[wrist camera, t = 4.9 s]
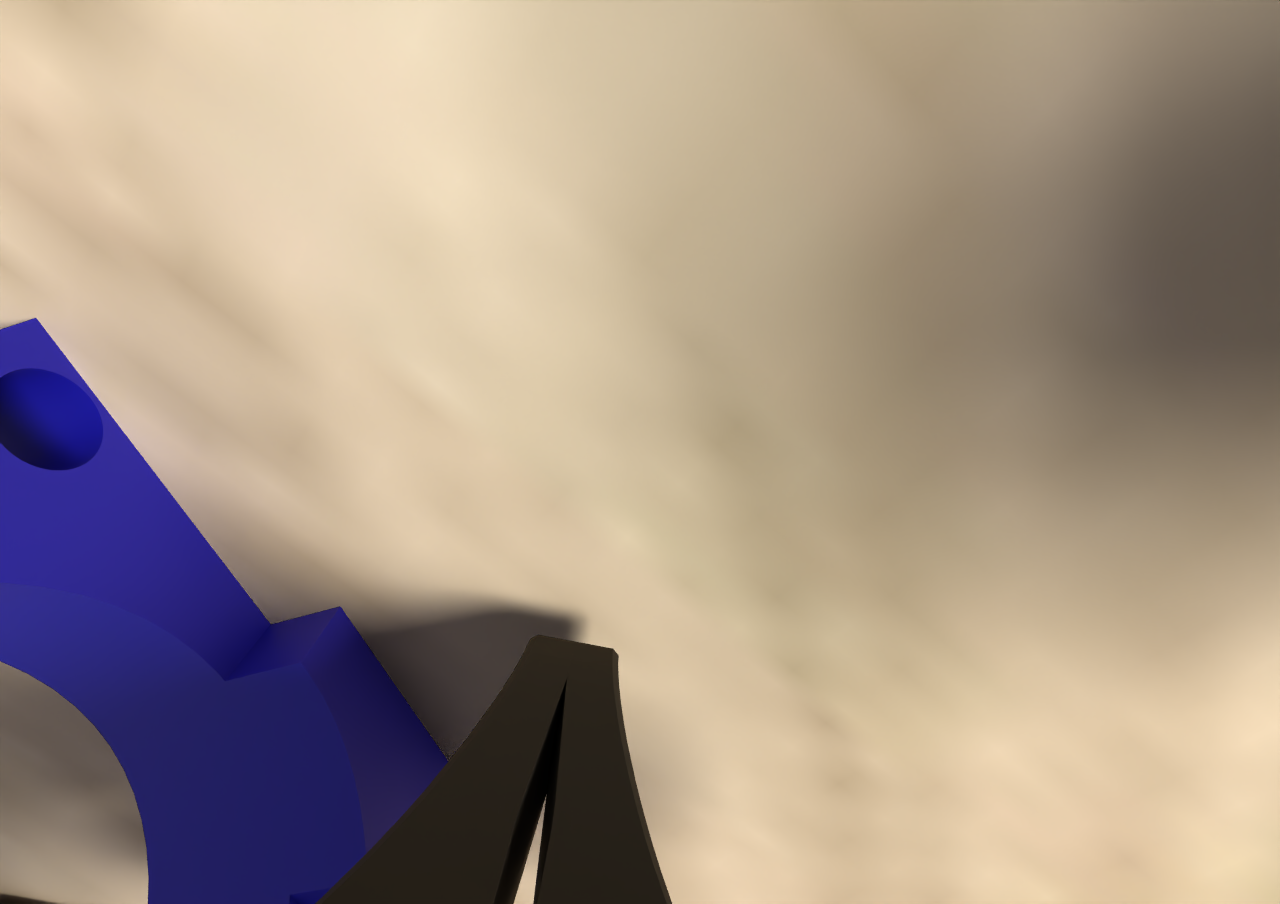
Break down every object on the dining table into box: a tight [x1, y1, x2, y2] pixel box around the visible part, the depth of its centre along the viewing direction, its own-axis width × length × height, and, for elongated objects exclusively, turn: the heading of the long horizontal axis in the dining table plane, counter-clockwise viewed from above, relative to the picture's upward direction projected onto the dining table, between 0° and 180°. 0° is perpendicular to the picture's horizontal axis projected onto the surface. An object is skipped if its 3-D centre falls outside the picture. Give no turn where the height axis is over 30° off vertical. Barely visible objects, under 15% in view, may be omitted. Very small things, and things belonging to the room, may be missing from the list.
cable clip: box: [0, 318, 448, 904], centre depth 10 cm, size 12×4×6 cm, turn 20°
